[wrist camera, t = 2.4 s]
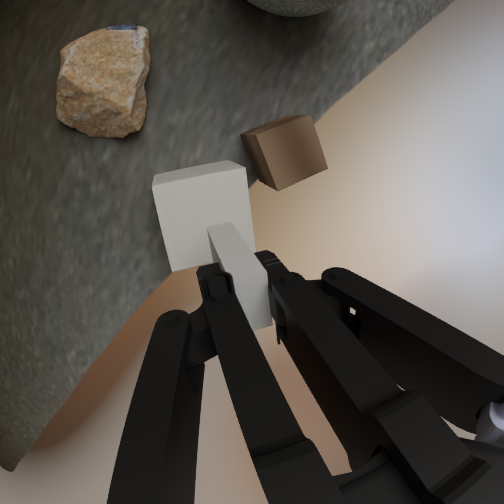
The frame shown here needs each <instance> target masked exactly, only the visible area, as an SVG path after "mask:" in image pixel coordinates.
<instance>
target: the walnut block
mask: <svg viewBox="0 0 504 504" xmlns="http://www.w3.org/2000/svg"><path fill="white" fill-rule="evenodd" d="M240 135H241V137H242V139H243V142H244V144H245V147H246V149H247V151H248V154H249V156H250V159H251V161H252V164H253V166H254V169H255V171H256V174H257V176H258V179H259V181H260V182H262V183H264V184H266V185H268V186H269V187H271V188H273V189H275V190H277V191H280V190H282V189H284V188H286V187H288V186H290V185H292V184H295V183H297V182H299V181H301V180H303V179H306V178H308V177H310V176H312V175H315V174H317V173H319V172H321V171H323V170H326V169H328V167H327V164H326V161H325V158H324V154H323V151H322V148H321V145H320V142H319V139H318V136H317V133H316V130H315V127H314V124H313V121H312V118H311V115H295V116H286V117H283V118H280V119H277V120H275V121H272V122H270V123H267V124H264V125H262V126H259V127H257V128H254V129H252V130H249V131H247V132H244V133H242V134H240Z"/></svg>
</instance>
